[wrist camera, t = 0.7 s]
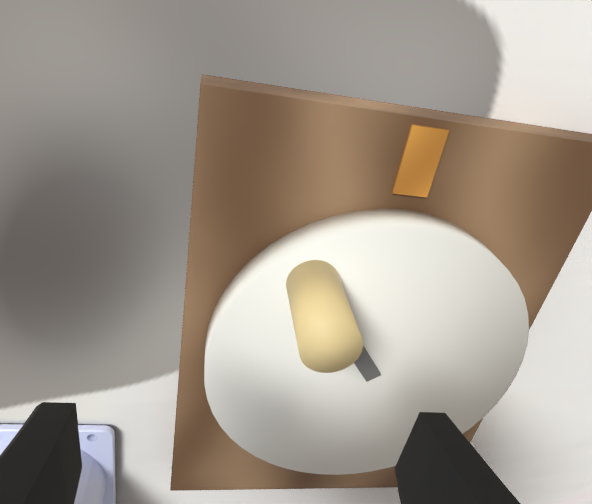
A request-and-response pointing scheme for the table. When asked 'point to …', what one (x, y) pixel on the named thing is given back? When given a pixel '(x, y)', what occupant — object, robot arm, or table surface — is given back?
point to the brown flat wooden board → (348, 198)
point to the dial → (361, 339)
